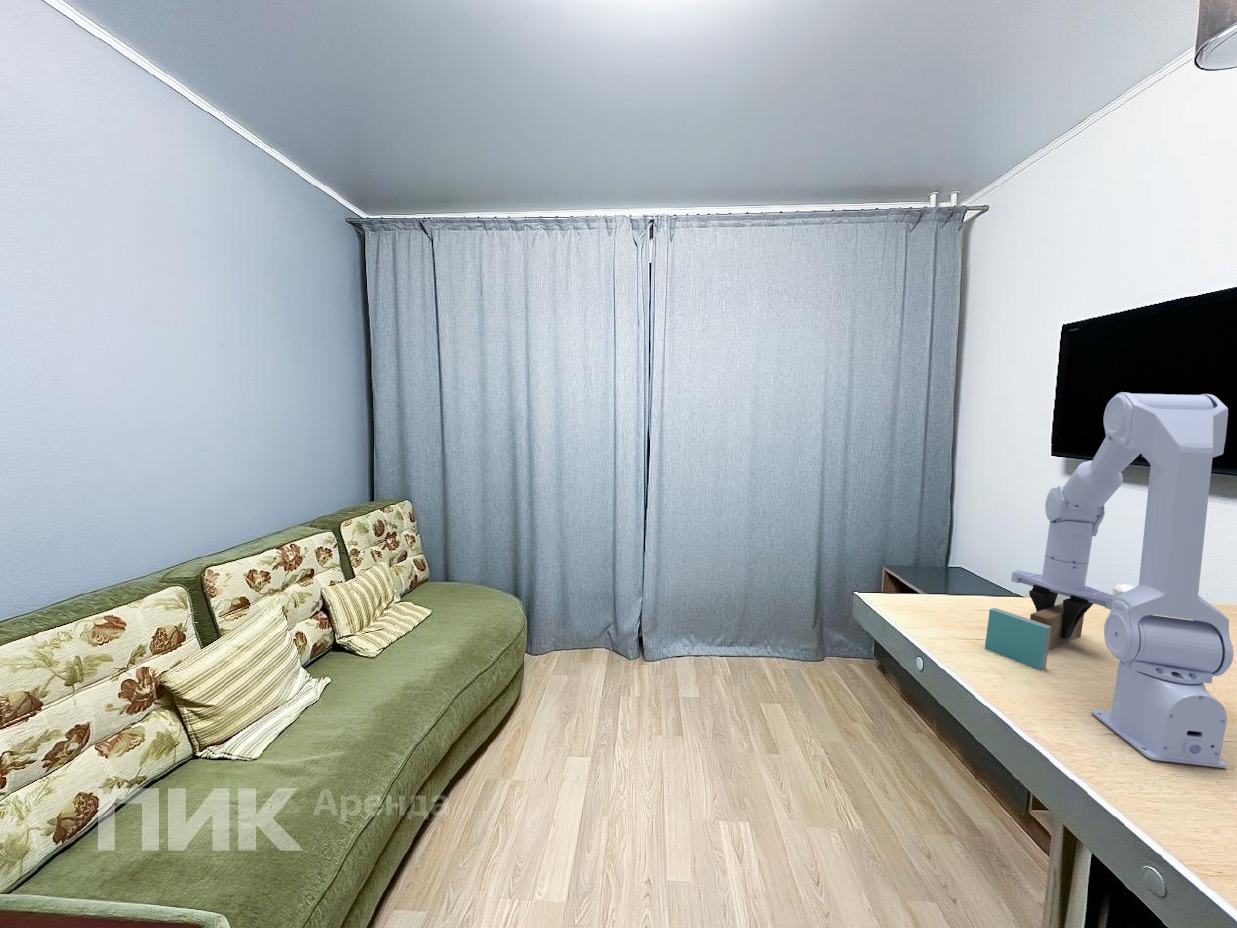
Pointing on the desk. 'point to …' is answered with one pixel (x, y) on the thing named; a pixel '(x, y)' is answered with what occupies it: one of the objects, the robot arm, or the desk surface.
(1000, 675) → the desk surface
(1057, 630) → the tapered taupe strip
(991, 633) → the tile
